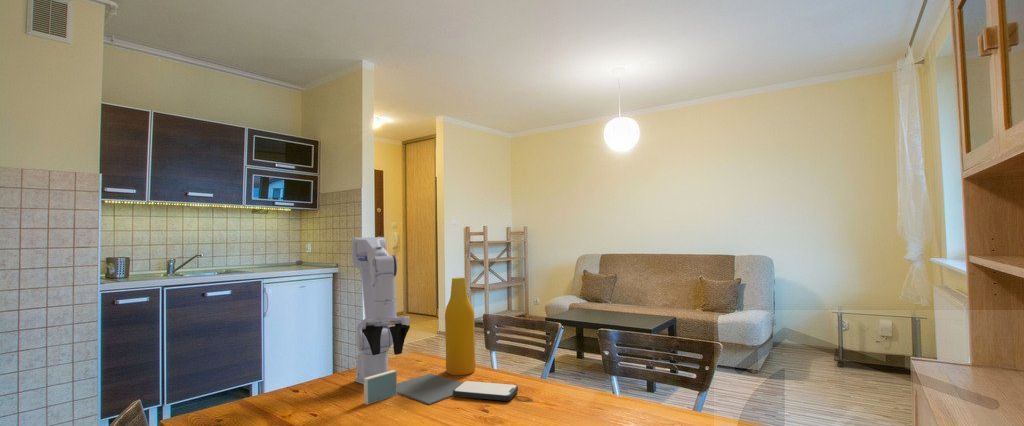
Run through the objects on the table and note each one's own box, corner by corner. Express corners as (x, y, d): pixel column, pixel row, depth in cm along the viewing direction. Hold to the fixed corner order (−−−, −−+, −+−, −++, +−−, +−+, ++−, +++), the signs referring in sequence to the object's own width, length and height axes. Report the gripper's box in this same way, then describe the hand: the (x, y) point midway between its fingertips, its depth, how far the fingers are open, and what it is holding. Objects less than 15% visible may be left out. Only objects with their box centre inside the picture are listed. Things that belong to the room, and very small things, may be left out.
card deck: (364, 403, 118) (363, 378, 118) (393, 393, 125) (393, 369, 125) (367, 404, 117) (367, 379, 117) (397, 395, 123) (396, 370, 124)
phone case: (451, 397, 120) (509, 402, 115) (450, 391, 120) (509, 396, 115) (464, 386, 128) (519, 390, 123) (464, 380, 128) (519, 384, 123)
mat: (384, 388, 128) (384, 387, 128) (430, 374, 140) (430, 373, 140) (429, 405, 115) (429, 403, 115) (475, 387, 127) (475, 386, 127)
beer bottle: (470, 365, 149) (468, 275, 150) (479, 373, 141) (477, 278, 142) (442, 369, 145) (440, 277, 147) (450, 377, 137) (448, 280, 138)
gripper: (353, 304, 121) (354, 357, 119) (395, 300, 115) (397, 356, 112) (372, 302, 127) (374, 352, 125) (413, 298, 121) (416, 351, 118)
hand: (387, 354), depth 119 cm, fingers open, 7 cm apart
